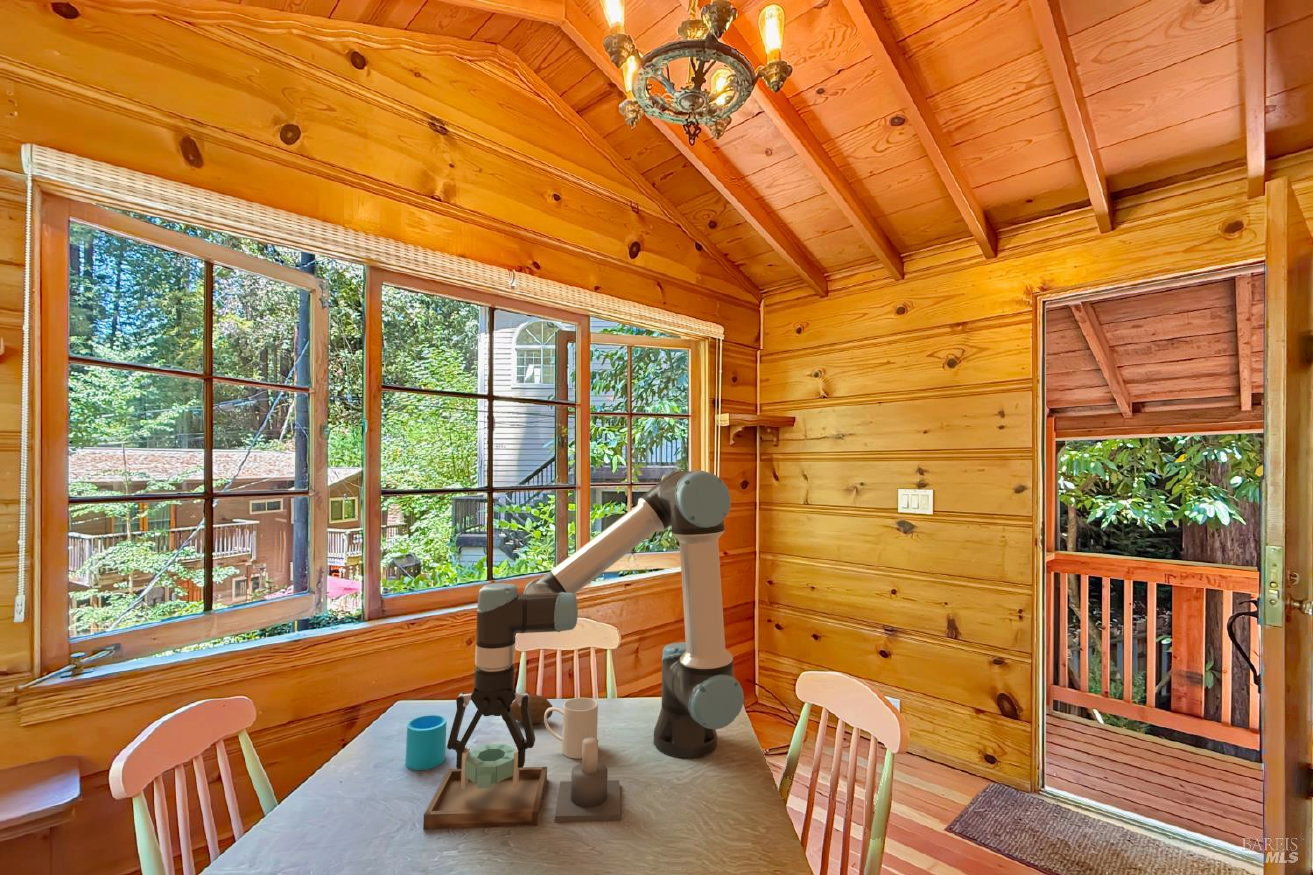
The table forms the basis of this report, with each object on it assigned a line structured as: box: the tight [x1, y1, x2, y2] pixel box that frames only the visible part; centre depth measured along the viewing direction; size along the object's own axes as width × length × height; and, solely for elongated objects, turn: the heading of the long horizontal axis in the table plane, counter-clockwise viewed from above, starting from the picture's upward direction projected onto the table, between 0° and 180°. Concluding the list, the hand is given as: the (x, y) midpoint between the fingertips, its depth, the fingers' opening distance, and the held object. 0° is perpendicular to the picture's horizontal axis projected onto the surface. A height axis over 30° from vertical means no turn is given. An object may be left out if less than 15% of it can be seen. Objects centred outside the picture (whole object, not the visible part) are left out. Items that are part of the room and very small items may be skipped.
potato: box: [510, 694, 554, 725], centre depth 147 cm, size 7×12×7 cm, turn 92°
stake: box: [554, 738, 622, 823], centre depth 112 cm, size 12×12×12 cm
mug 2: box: [543, 697, 599, 760], centre depth 132 cm, size 12×8×10 cm, turn 97°
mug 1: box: [405, 714, 448, 771], centre depth 129 cm, size 12×8×8 cm
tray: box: [422, 766, 548, 830], centre depth 111 cm, size 20×16×2 cm
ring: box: [465, 743, 515, 788], centre depth 111 cm, size 9×11×3 cm
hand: (490, 784), depth 111 cm, fingers closed on ring, 9 cm apart
